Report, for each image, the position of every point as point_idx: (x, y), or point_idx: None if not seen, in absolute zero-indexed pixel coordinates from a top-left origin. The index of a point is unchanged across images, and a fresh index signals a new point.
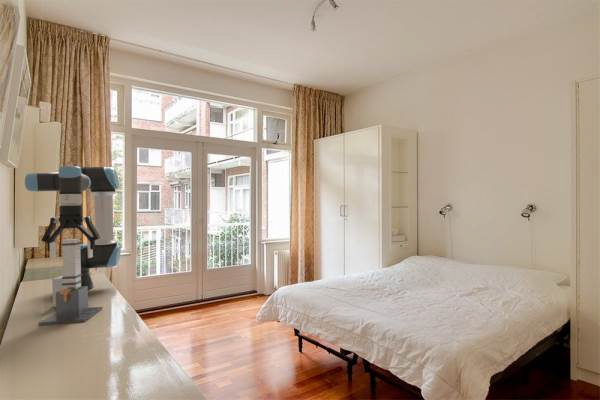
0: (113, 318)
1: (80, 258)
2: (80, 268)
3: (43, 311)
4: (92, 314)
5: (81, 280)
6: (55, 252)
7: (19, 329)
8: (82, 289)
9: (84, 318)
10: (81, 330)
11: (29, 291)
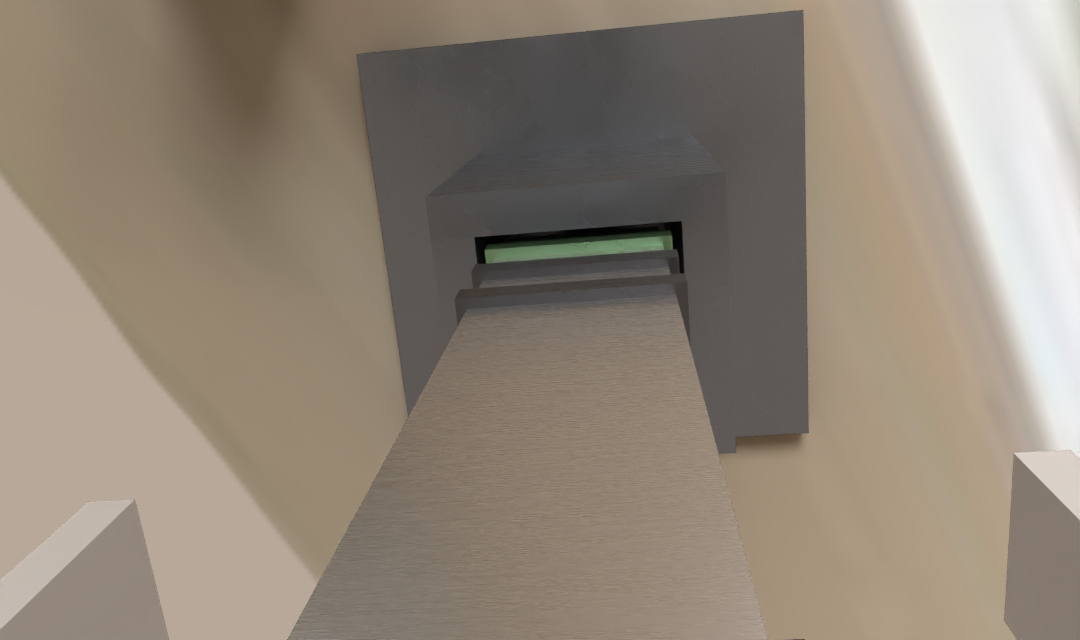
0: (1041, 367)
1: (703, 404)
2: (684, 333)
3: (151, 6)
4: (806, 284)
5: (678, 268)
6: (47, 602)
7: (328, 515)
8: (729, 335)
9: (789, 412)
10: (866, 619)
11: None
